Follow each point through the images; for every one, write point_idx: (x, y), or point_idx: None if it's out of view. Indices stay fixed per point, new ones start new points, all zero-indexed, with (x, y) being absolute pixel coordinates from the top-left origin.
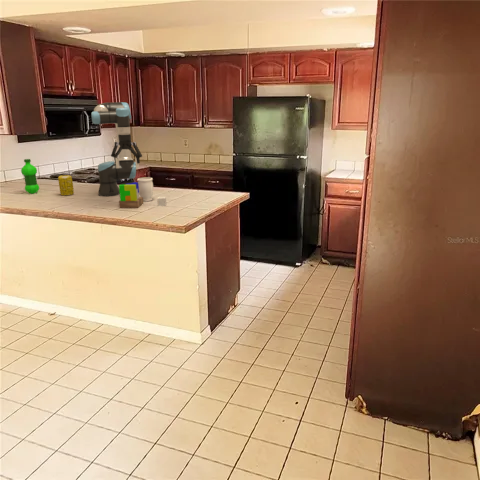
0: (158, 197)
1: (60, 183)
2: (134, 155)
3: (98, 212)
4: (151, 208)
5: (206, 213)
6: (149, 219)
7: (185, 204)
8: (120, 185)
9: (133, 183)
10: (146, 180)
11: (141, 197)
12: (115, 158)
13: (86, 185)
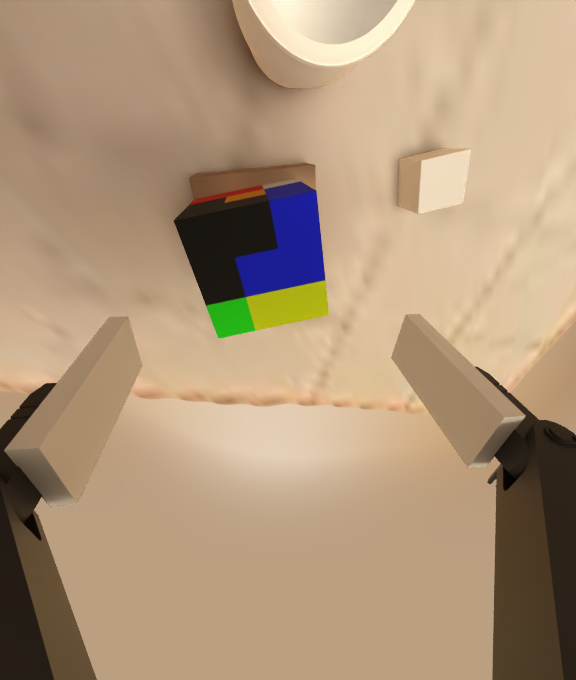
0: (423, 181)
1: None
2: (499, 524)
3: (172, 355)
4: (374, 261)
5: None
6: (392, 387)
7: (546, 148)
8: (228, 334)
9: (293, 251)
10: (375, 49)
11: (310, 181)
12: (57, 497)
13: None
